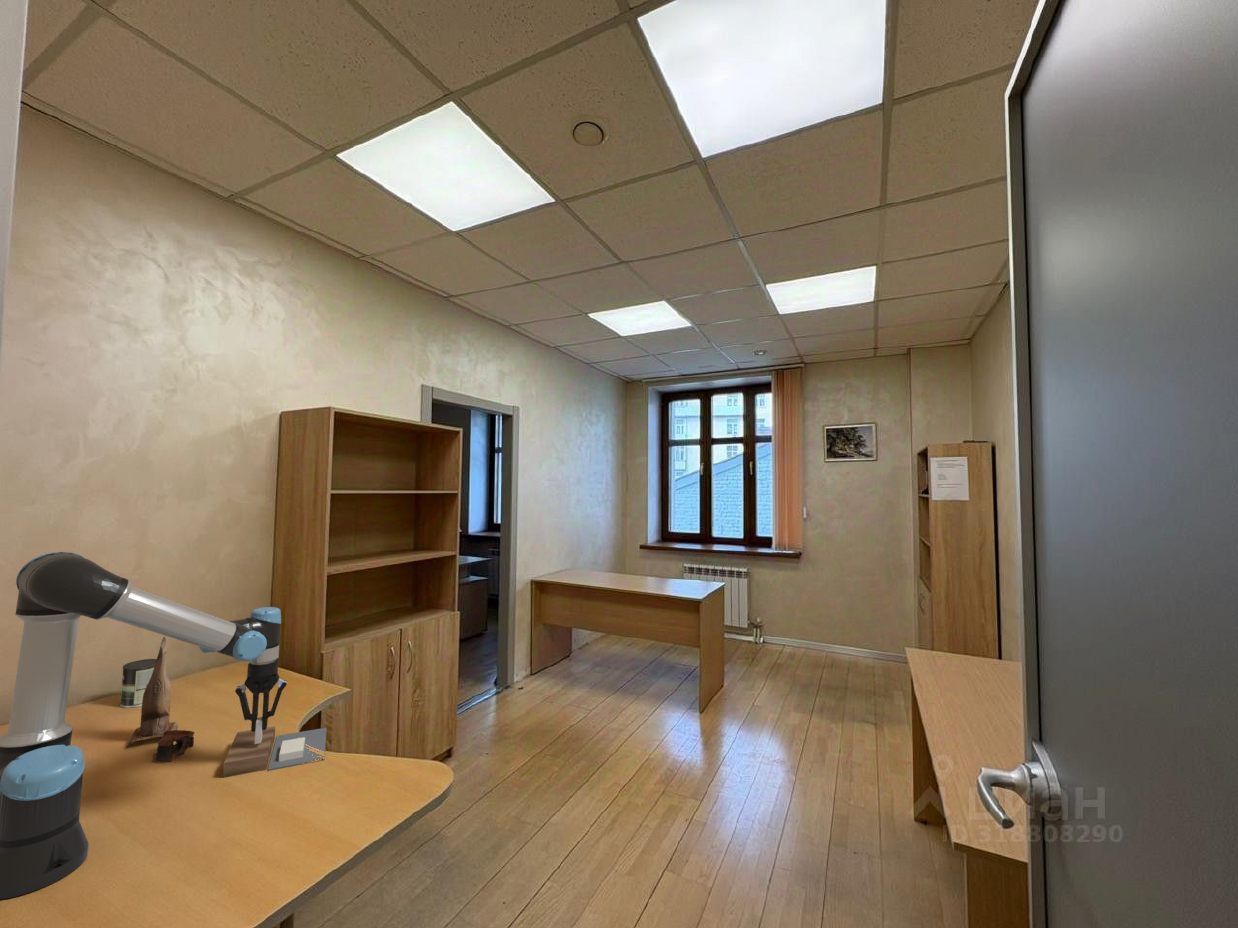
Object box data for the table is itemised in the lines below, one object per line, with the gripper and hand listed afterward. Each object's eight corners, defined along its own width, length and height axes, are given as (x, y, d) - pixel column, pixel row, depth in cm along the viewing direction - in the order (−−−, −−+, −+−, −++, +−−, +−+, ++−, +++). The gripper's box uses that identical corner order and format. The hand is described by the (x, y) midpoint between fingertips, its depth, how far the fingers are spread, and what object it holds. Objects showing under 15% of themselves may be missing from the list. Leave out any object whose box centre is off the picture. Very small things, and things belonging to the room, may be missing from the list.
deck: (266, 769, 147) (267, 755, 147) (222, 777, 143) (223, 762, 143) (274, 738, 165) (275, 725, 165) (236, 745, 160) (237, 731, 160)
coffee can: (114, 709, 182) (117, 669, 183) (127, 698, 191) (130, 660, 192) (151, 705, 186) (154, 666, 187) (162, 694, 196) (165, 657, 196)
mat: (324, 759, 153) (324, 758, 153) (267, 770, 147) (267, 769, 147) (326, 728, 173) (326, 727, 173) (276, 736, 166) (277, 735, 166)
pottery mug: (141, 762, 150) (153, 731, 154) (175, 763, 157) (186, 733, 162) (168, 759, 146) (180, 727, 151) (202, 761, 154) (212, 730, 158)
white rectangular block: (279, 754, 151) (278, 761, 151) (303, 750, 154) (302, 756, 154) (282, 740, 159) (282, 747, 159) (305, 736, 162) (304, 743, 162)
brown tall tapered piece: (125, 752, 155) (134, 645, 156) (132, 735, 165) (140, 634, 166) (174, 742, 162) (182, 640, 163) (178, 726, 171) (185, 630, 172)
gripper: (290, 654, 160) (285, 731, 159) (239, 659, 154) (233, 740, 153) (287, 661, 153) (283, 742, 152) (234, 667, 147) (228, 751, 146)
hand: (258, 741), depth 152 cm, fingers closed
